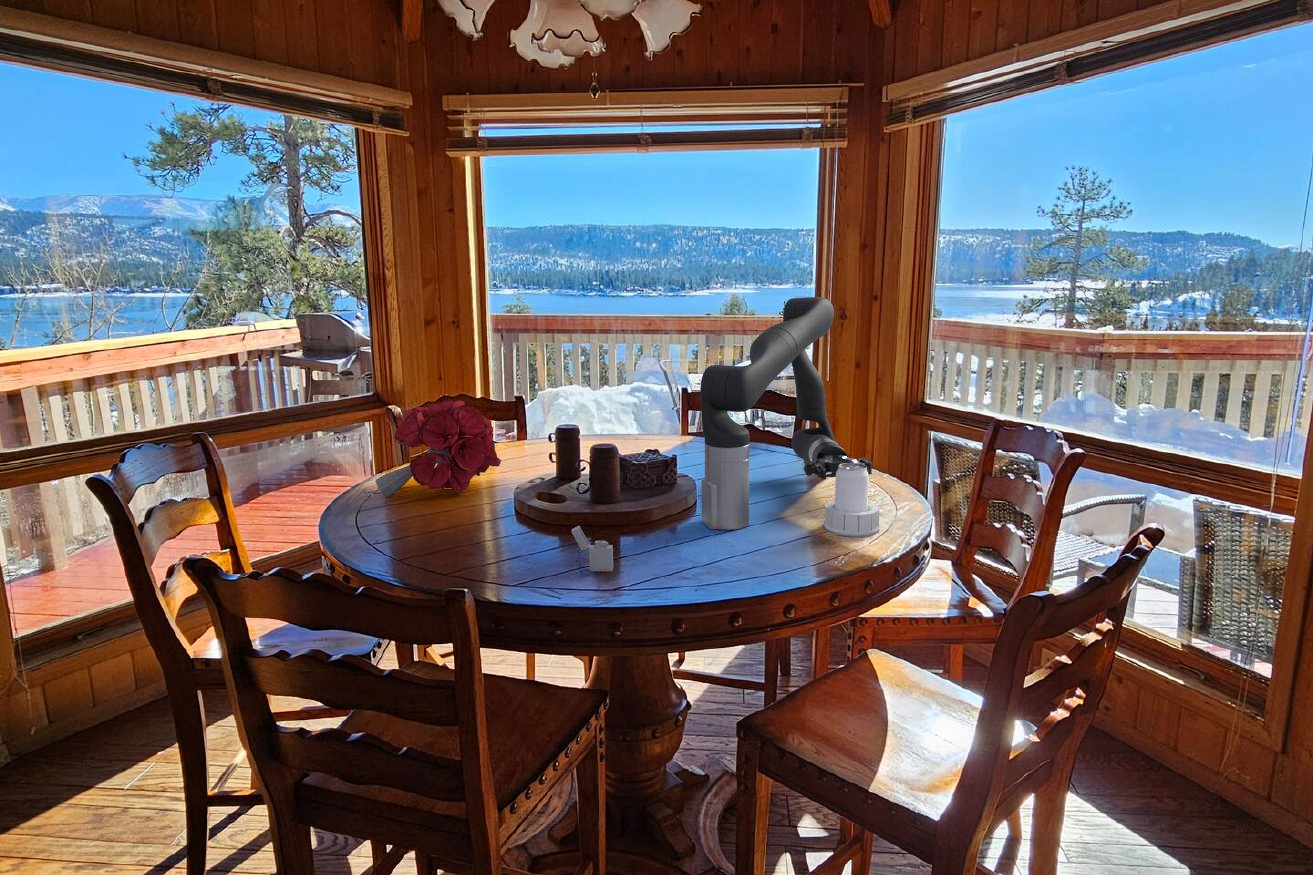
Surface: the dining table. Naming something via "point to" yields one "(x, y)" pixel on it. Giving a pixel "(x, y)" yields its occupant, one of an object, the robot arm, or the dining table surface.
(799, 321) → the robot arm
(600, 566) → the lighter
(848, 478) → the can
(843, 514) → the holder
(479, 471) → the bouquet
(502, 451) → the dining table surface
